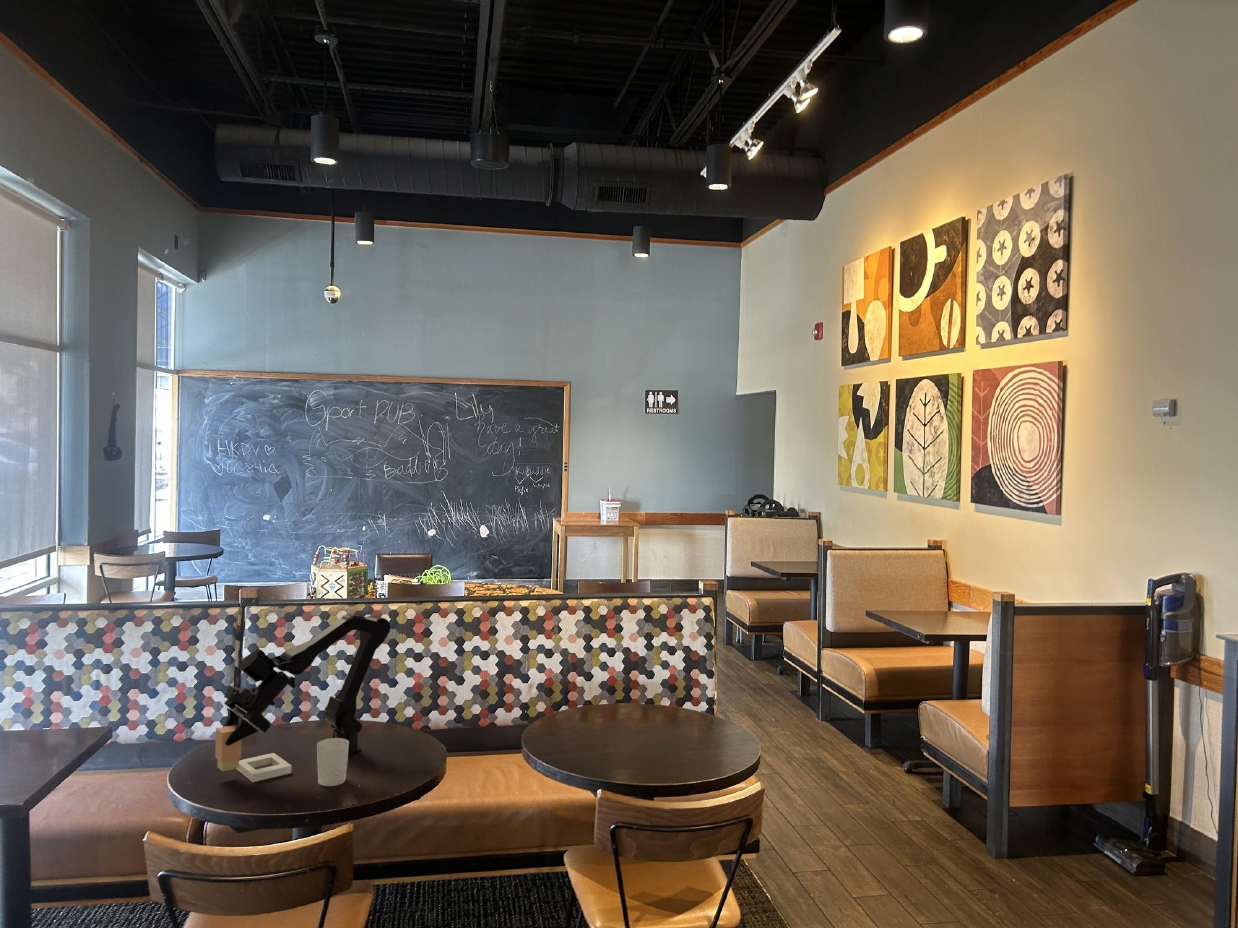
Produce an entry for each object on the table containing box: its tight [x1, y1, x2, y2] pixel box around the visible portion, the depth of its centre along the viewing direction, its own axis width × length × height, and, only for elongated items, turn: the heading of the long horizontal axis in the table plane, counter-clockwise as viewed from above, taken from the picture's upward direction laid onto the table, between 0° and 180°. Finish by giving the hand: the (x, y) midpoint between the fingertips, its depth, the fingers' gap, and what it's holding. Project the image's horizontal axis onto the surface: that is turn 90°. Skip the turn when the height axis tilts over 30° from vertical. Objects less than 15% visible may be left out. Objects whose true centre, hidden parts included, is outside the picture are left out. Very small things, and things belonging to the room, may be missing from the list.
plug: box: [214, 725, 243, 772], centre depth 219 cm, size 5×5×10 cm
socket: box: [235, 752, 292, 783], centre depth 225 cm, size 10×12×2 cm
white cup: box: [316, 737, 349, 787], centre depth 220 cm, size 8×8×10 cm
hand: (222, 741), depth 218 cm, fingers closed on plug, 5 cm apart
